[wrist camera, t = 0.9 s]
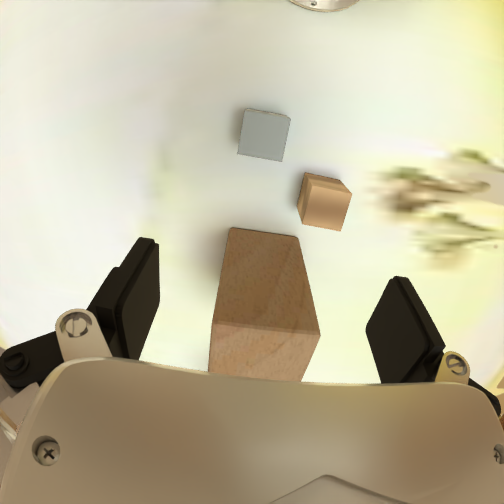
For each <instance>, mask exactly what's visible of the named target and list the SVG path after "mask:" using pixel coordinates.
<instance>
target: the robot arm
mask: <svg viewBox="0 0 504 504" xmlns="http://www.w3.org/2000/svg"><path fill="white" fill-rule="evenodd" d="M290 1H291V2H293V3H294V4H296V5H299V6H301V7H303V8H306V9H310V10H313V11H321V12H334V11H340V10H343V9H346V8H349V7H350V6H352V5H354V4H355V3H356V2H358V1H359V0H290ZM311 4H314V6H312V5H311ZM159 302H160V283H159V244H157V243H155V241H154V239H150V238H143V237H139V238H138V240H137V241H136V243H135V244H134V246H133V247H132V248H131V250H130V251H129V253H128V254H127V256H126V257H125V259H124V260H123V262H122V264H121V265H120V267H114V268H113V269H112V270H111V272H110V273H109V275H108V276H107V278H106V279H105V281H104V282H103V284H102V285H101V287H100V289H99V290H98V292H97V293H96V295H95V296H94V298H93V300H92V301H91V303H90V305H89V306H88V308H87V309H86V310H85V309H71V310H69V311H66V312H65V313H63V314H62V315H60V317H59V318H58V319H57V321H56V324H55V330H56V331H54V332H51V333H48V334H46V335H43V336H40V337H37V338H35V339H32V340H29V341H26V342H24V343H21V344H18V345H16V346H13V347H11V348H9V349H7V350H6V351H5V352H4V353H3V354H2V356H1V357H0V504H504V414H502V415H500V413H501V406H500V403H499V400H498V399H497V397H496V396H494V395H493V394H492V393H490V392H489V391H487V390H486V389H485V388H483V387H482V386H480V385H479V384H477V383H476V382H475V381H473V380H472V379H470V378H469V375H470V367H469V364H468V363H467V361H466V360H465V359H464V357H462V356H461V355H460V354H458V353H456V352H452V351H449V352H446V353H445V354H444V353H443V349H444V348H445V347H446V345H445V343H444V341H443V339H442V338H441V336H440V334H439V332H438V330H437V328H436V326H435V324H434V322H433V320H432V319H431V317H430V315H429V313H428V311H427V310H426V308H425V306H424V304H423V302H422V301H421V299H420V297H419V296H418V294H417V292H416V290H415V289H414V287H413V285H412V284H411V282H410V280H409V279H408V278H406V277H400V276H394V277H393V279H390V280H389V282H388V284H387V286H386V288H385V290H384V292H383V294H382V296H381V298H380V300H379V302H378V304H377V306H376V308H375V310H374V312H373V314H372V316H371V318H370V320H369V321H368V323H367V325H366V335H367V338H368V341H369V344H370V347H371V351H372V354H373V357H374V360H375V363H376V367H377V370H378V373H379V377H380V380H381V384H350V383H317V382H299V381H285V380H273V379H262V378H252V377H243V376H235V375H227V374H219V373H212V372H206V371H199V370H193V369H186V368H180V367H174V366H168V365H163V364H157V363H152V362H145V361H139V358H140V355H141V352H142V349H143V346H144V344H145V341H146V338H147V336H148V333H149V330H150V328H151V325H152V322H153V320H154V317H155V314H156V312H157V309H158V307H159ZM21 421H23V422H22V424H21V426H20V429H19V431H18V434H17V437H16V429H17V426H18V425H19V424H20V423H21ZM52 448H53V449H54V450H52Z"/></svg>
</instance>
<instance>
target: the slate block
mask: <svg viewBox="0 0 504 504" xmlns="http://www.w3.org/2000/svg"><path fill="white" fill-rule="evenodd" d="M290 121H291V119H290V118H289V117H287V116H286V115H281V114H276V113H270V112H265V111H259V110H253V109H246V110H245V112H244V118H243V123H242V129H241V135H240V141H239V147H238V153H237V154H240V155H246V156H252V157H258V158H263V159H269V160H274V161H280V162H282V159H283V154H284V150H285V145H286V140H287V135H288V130H289V126H290Z"/></svg>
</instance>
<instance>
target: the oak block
mask: <svg viewBox="0 0 504 504" xmlns="http://www.w3.org/2000/svg"><path fill="white" fill-rule="evenodd" d="M351 196H352V193H351V192H350V191H349V190H348V189H347V188H346V186H345V185H344V184H343V183H342V182H341V181H340V180H337V179H333V178H328V177H324V176H319V175H314V174H310V173H305V175H304V179H303V183H302V187H301V191H300V196H299V200H298V204H297V209H298V212H299V215H300V218H301V221H302V224H304V225H309V226H315V227H320V228H325V229H331V230H336V231H341V229H342V226H343V223H344V219H345V216H346V213H347V210H348V206H349V203H350V200H351Z"/></svg>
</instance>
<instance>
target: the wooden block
mask: <svg viewBox="0 0 504 504" xmlns="http://www.w3.org/2000/svg"><path fill="white" fill-rule="evenodd" d="M320 336H321V335H320V330H319V325H318V321H317V316H316V311H315V307H314V302H313V298H312V294H311V289H310V285H309V281H308V276H307V272H306V268H305V264H304V260H303V256H302V252H301V248H300V244H299V240H298V238H296V237H292V236H285V235H278V234H271V233H264V232H257V231H251V230H243V229H236V228H231V229H230V231H229V235H228V240H227V245H226V251H225V256H224V261H223V266H222V271H221V277H220V282H219V287H218V293H217V298H216V303H215V309H214V314H213V320H212V327H211V339H210V351H209V363H208V372H212V373H219V374H227V375H235V376H243V377H252V378H262V379H273V380H285V381H299V382H301V380H302V378H303V375H304V373H305V371H306V369H307V366H308V364H309V362H310V360H311V357H312V355H313V353H314V350H315V348H316V346H317V343H318V341H319V338H320Z"/></svg>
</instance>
